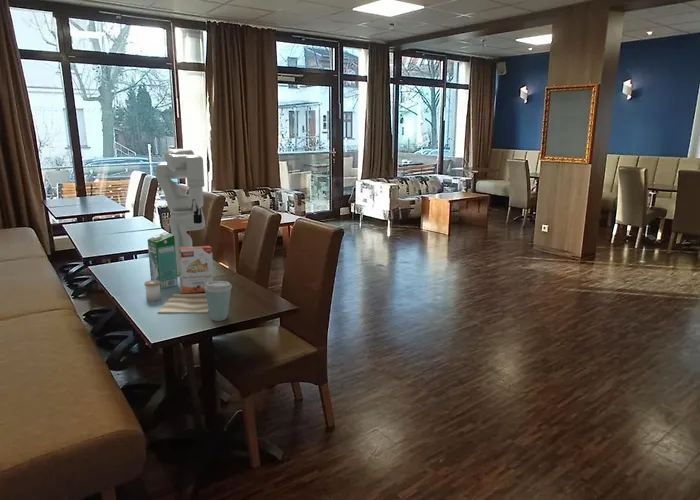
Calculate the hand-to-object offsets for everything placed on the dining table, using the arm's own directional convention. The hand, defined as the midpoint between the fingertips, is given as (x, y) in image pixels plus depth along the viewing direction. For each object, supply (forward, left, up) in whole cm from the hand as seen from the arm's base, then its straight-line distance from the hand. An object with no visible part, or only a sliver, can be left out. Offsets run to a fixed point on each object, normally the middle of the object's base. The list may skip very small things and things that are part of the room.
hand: (198, 222), depth 229 cm
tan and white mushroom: (+18, -17, -31) cm, 40 cm away
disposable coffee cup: (+42, +16, -31) cm, 55 cm away
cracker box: (+9, 0, -31) cm, 32 cm away
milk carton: (-2, -18, -31) cm, 36 cm away
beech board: (+24, 0, -31) cm, 40 cm away
